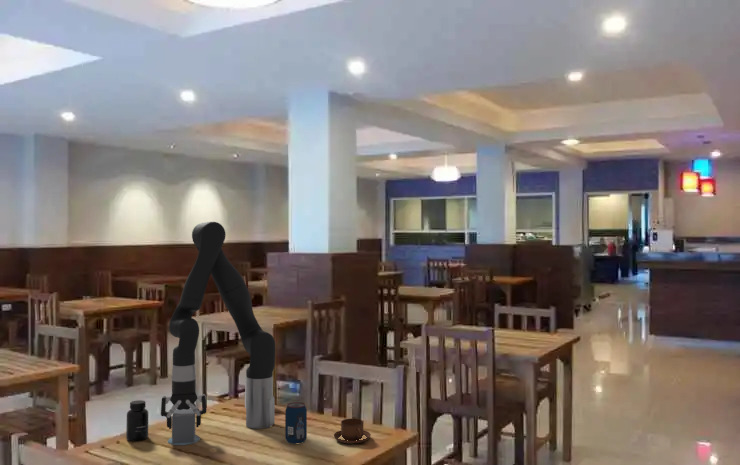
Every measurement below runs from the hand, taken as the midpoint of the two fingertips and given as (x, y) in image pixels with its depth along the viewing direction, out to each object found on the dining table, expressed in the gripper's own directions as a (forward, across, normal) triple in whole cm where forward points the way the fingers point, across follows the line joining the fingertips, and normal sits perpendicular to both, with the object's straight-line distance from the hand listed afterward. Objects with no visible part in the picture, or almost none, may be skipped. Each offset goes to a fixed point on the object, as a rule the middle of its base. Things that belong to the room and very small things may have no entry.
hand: (183, 427), depth 212 cm
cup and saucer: (+5, -54, +11) cm, 55 cm away
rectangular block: (+4, 0, -1) cm, 4 cm away
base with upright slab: (+4, -25, -35) cm, 43 cm away
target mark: (+4, 0, 0) cm, 4 cm away
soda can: (+4, -36, +9) cm, 37 cm away
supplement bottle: (+4, +15, -5) cm, 17 cm away
